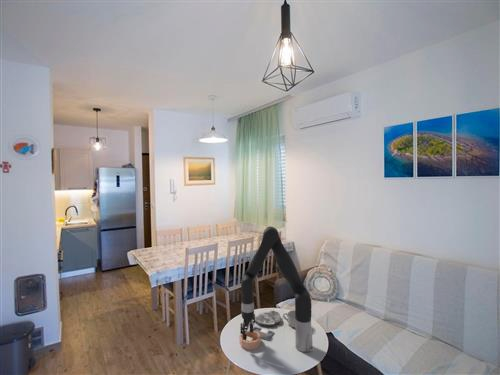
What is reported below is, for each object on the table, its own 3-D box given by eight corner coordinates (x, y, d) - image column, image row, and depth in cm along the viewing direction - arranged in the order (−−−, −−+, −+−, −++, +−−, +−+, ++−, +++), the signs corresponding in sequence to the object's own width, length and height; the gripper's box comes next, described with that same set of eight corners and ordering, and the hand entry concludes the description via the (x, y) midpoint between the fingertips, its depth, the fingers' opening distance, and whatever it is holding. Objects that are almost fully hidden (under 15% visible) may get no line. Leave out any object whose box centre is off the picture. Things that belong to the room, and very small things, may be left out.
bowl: (263, 340, 162) (263, 333, 162) (254, 352, 152) (254, 344, 152) (246, 335, 168) (246, 328, 168) (236, 346, 157) (236, 339, 157)
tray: (273, 333, 170) (273, 331, 170) (268, 341, 162) (268, 339, 162) (254, 328, 176) (254, 326, 176) (248, 335, 168) (248, 333, 168)
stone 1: (252, 343, 159) (252, 338, 158) (250, 347, 156) (250, 341, 155) (246, 341, 161) (246, 336, 161) (243, 345, 158) (243, 339, 158)
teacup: (305, 324, 180) (305, 312, 180) (300, 332, 171) (299, 320, 171) (287, 318, 188) (287, 307, 187) (280, 326, 178) (280, 314, 178)
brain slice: (265, 332, 172) (265, 327, 172) (250, 320, 186) (250, 316, 186) (287, 322, 183) (287, 318, 183) (271, 312, 197) (271, 308, 197)
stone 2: (268, 335, 167) (268, 330, 167) (266, 338, 164) (266, 333, 164) (262, 334, 169) (262, 328, 169) (260, 336, 166) (260, 331, 166)
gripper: (247, 316, 149) (248, 344, 150) (258, 305, 162) (259, 331, 162) (236, 313, 153) (236, 340, 153) (247, 302, 165) (248, 328, 166)
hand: (248, 335), depth 158 cm, fingers open, 8 cm apart
